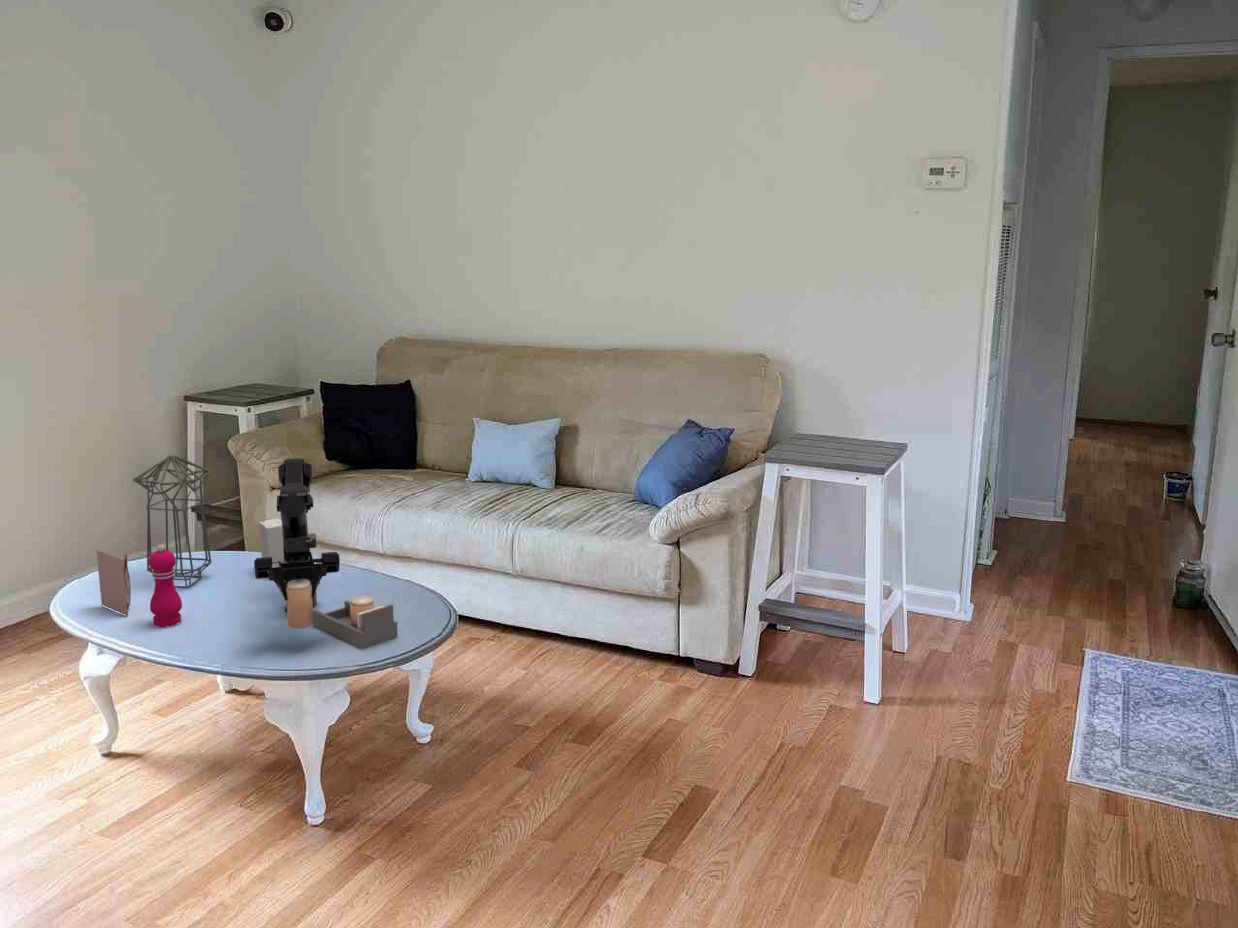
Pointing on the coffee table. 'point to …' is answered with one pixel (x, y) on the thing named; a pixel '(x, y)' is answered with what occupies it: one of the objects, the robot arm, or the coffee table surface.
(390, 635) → the tray
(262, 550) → the skincare box
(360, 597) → the jar in lane
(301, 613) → the terracotta jar
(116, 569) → the brown paper bag
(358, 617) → the panel
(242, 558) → the coffee table surface
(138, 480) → the geometric lantern
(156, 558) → the pepper mill
